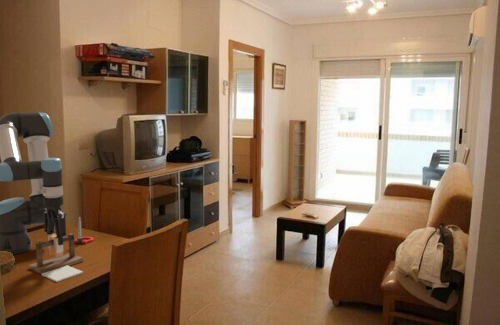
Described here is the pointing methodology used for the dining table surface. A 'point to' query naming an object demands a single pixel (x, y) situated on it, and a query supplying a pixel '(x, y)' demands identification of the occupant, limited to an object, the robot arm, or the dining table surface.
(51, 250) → the c-link
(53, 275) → the rubber mat
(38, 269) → the stand
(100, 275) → the dining table surface
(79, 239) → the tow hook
